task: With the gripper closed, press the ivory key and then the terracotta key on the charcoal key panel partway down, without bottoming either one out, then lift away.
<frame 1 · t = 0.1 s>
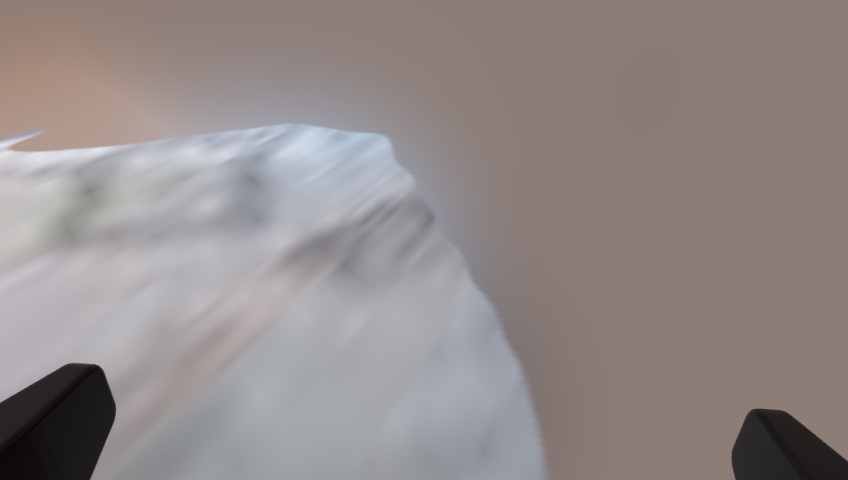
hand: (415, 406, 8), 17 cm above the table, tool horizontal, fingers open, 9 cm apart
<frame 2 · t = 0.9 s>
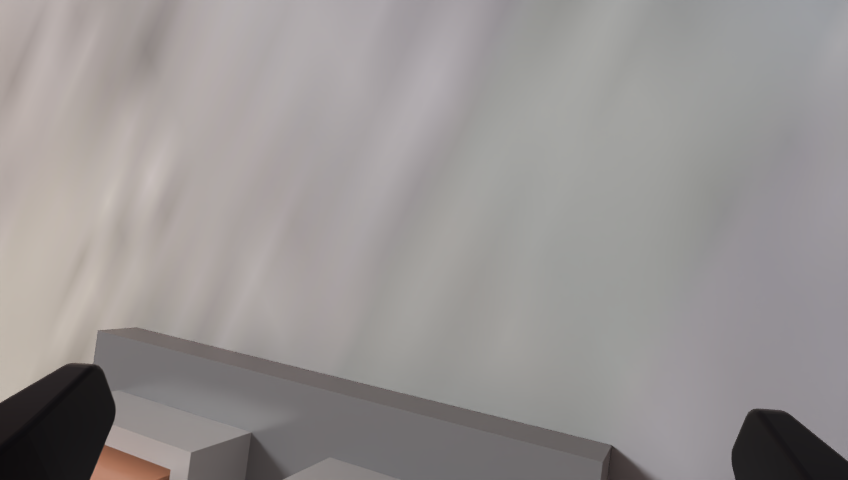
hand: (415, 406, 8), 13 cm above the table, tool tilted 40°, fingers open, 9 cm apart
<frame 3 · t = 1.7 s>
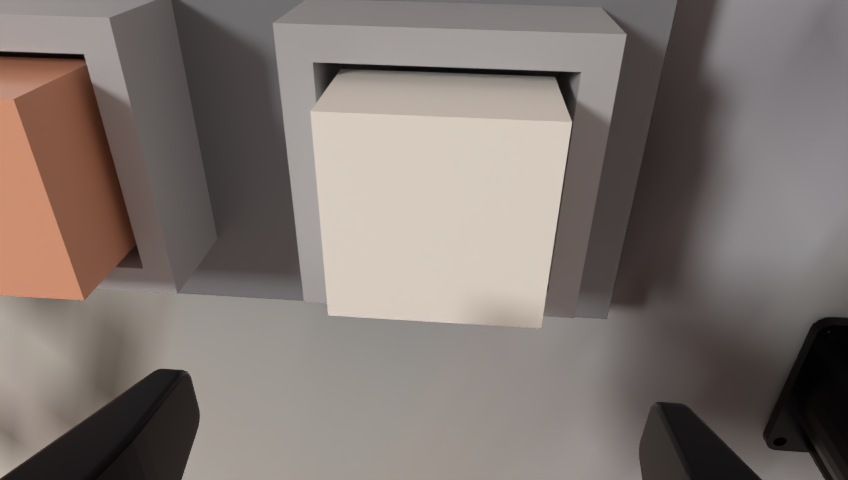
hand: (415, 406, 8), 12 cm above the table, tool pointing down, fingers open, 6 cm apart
key ivory: (440, 197, 14), point 5 cm above the table, slide at 0.0 cm
key panel: (277, 109, 19), on the table
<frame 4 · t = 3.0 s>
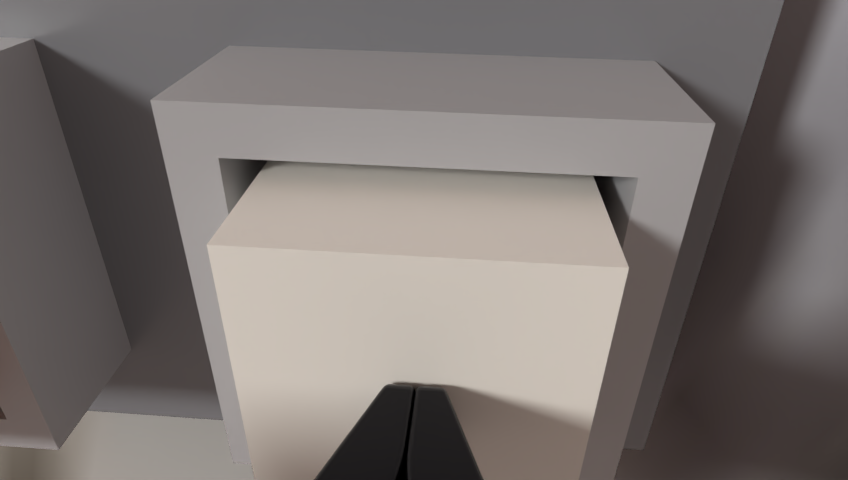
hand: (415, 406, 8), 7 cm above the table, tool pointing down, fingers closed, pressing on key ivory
key ivory: (420, 335, 10), point 5 cm above the table, slide at 0.4 cm, touching gripper
key panel: (208, 180, 14), on the table
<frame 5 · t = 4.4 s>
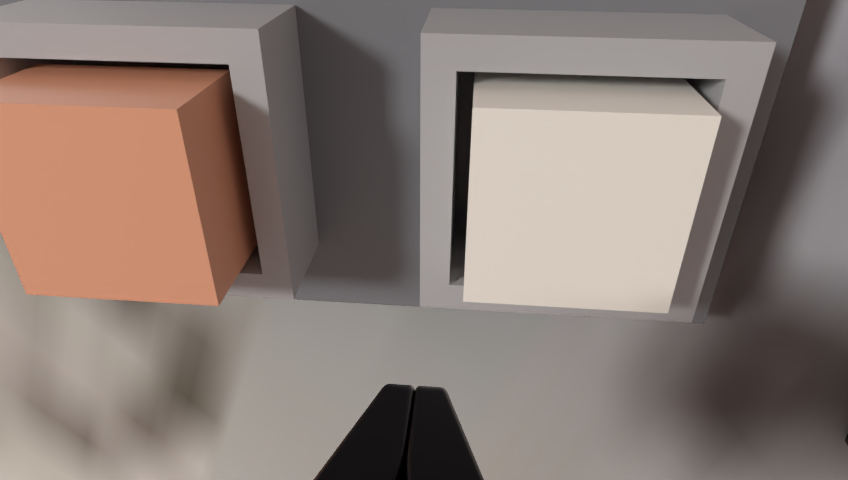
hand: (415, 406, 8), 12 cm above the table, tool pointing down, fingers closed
key ivory: (570, 189, 15), point 5 cm above the table, slide at 0.8 cm
key terracotta: (127, 183, 15), point 6 cm above the table, slide at 0.0 cm
key panel: (379, 116, 19), on the table
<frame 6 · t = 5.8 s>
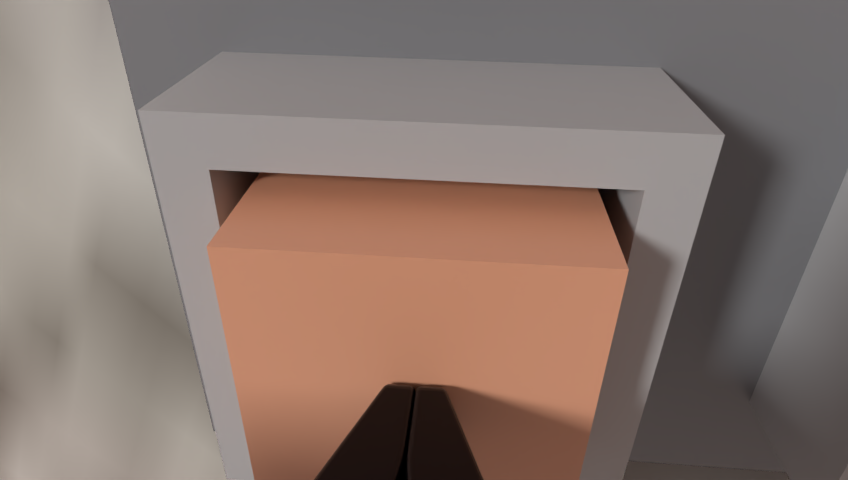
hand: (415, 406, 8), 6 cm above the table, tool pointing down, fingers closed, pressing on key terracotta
key terracotta: (420, 336, 10), point 5 cm above the table, slide at 0.7 cm, touching gripper
key panel: (681, 211, 13), on the table
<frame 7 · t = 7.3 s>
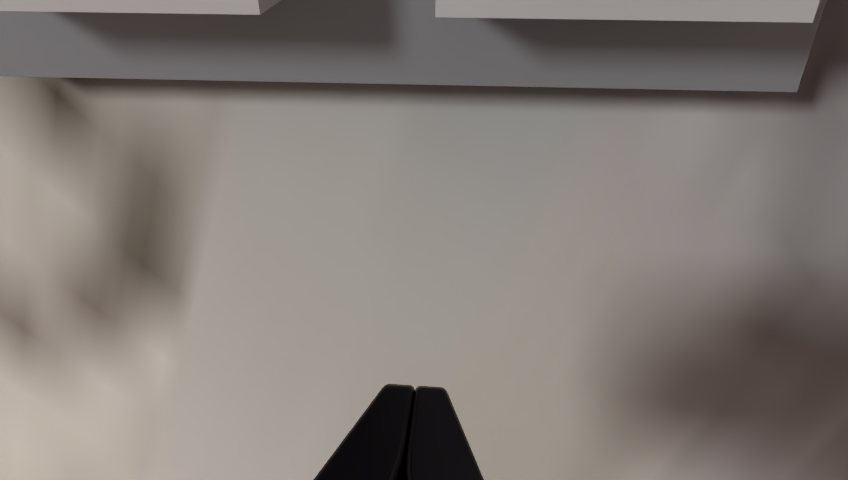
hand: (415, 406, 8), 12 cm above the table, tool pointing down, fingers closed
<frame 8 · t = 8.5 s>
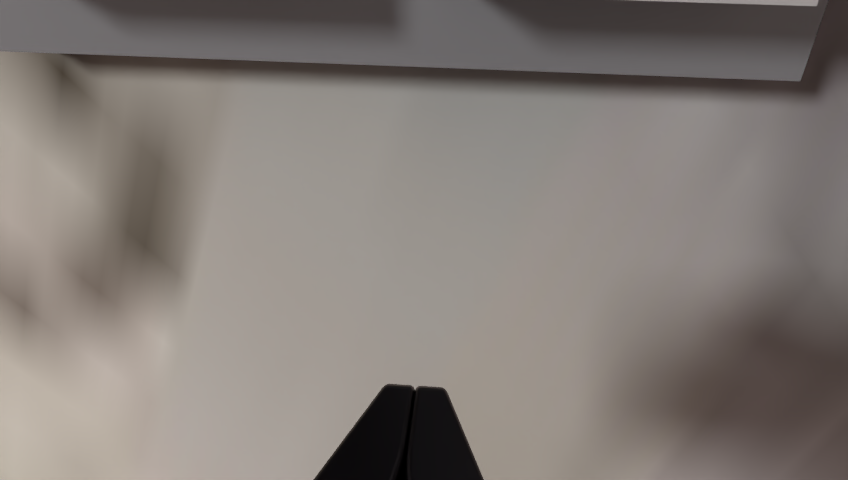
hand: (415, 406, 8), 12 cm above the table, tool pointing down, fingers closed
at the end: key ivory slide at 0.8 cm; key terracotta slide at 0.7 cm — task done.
